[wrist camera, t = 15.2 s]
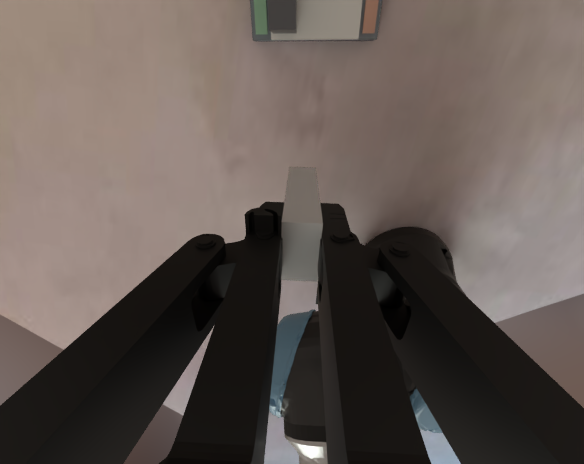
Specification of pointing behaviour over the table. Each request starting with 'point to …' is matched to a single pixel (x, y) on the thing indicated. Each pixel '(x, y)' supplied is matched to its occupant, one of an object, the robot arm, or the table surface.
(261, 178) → the table surface
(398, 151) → the table surface
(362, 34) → the panel
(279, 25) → the block
